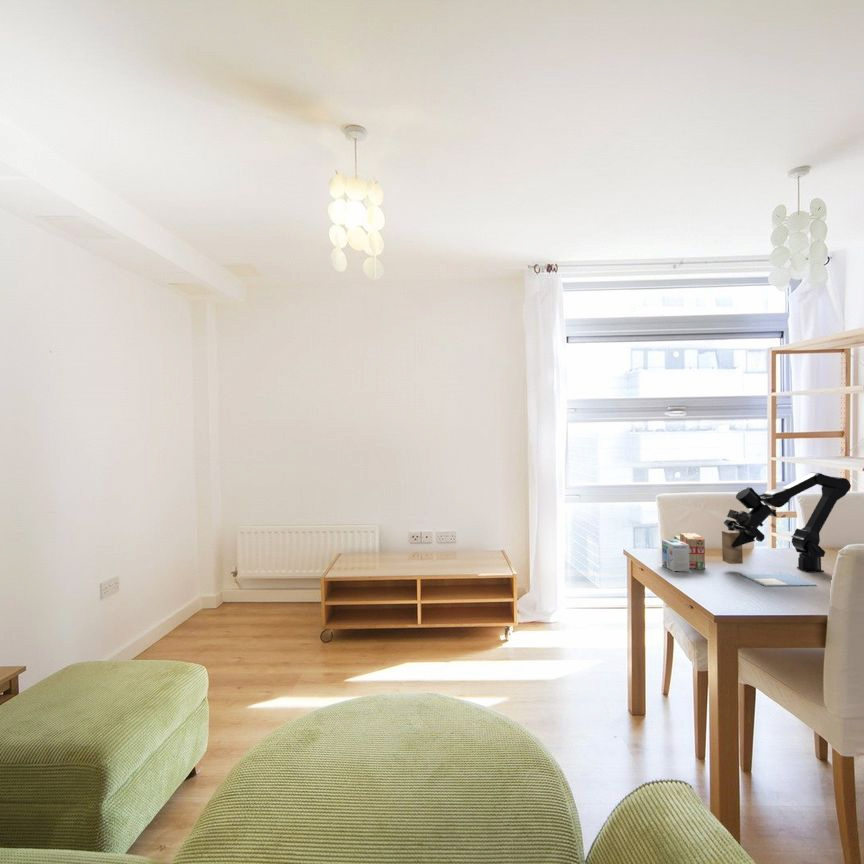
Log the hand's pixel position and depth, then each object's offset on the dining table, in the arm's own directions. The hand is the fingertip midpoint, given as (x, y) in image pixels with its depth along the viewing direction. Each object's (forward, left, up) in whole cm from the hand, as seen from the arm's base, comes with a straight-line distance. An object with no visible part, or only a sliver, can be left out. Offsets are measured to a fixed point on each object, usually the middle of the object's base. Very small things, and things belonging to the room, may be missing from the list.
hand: (728, 545), depth 199 cm
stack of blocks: (+9, -14, -11) cm, 20 cm away
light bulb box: (+19, -5, -10) cm, 22 cm away
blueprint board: (-10, +13, -10) cm, 19 cm away
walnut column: (-1, 0, -7) cm, 7 cm away
